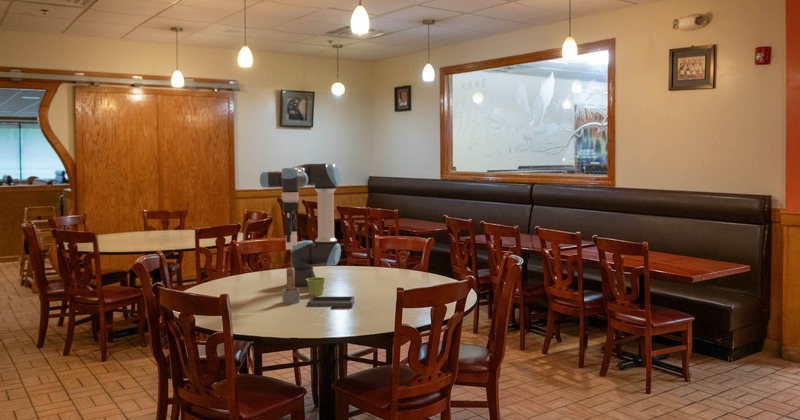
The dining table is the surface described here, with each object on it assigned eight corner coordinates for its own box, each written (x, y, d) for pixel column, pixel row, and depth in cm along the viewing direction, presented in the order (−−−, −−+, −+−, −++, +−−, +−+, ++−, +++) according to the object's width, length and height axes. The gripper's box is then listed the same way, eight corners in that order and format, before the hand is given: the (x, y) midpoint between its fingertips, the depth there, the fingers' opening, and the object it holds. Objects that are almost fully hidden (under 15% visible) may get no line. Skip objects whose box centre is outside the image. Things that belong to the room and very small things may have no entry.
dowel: (288, 301, 316) (287, 267, 315) (295, 301, 316) (295, 267, 315) (286, 303, 313) (285, 268, 311) (294, 302, 313) (293, 268, 311)
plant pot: (307, 298, 327) (307, 281, 326) (305, 295, 336) (305, 277, 335) (327, 297, 329) (326, 279, 328) (324, 293, 338) (323, 276, 337)
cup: (284, 302, 318) (284, 287, 318) (300, 302, 318) (300, 287, 318) (281, 306, 311) (281, 291, 310) (298, 306, 311) (297, 291, 310)
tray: (312, 301, 319) (312, 296, 319) (354, 301, 319) (354, 296, 319) (307, 308, 305) (307, 303, 305) (351, 308, 305) (351, 302, 305)
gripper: (287, 199, 323) (287, 243, 325) (277, 203, 298) (278, 251, 300) (302, 199, 323) (303, 243, 325) (294, 203, 298) (295, 250, 300)
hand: (291, 247), depth 312 cm, fingers open, 13 cm apart
